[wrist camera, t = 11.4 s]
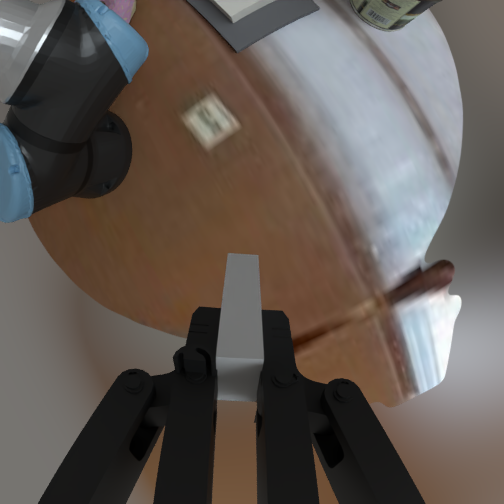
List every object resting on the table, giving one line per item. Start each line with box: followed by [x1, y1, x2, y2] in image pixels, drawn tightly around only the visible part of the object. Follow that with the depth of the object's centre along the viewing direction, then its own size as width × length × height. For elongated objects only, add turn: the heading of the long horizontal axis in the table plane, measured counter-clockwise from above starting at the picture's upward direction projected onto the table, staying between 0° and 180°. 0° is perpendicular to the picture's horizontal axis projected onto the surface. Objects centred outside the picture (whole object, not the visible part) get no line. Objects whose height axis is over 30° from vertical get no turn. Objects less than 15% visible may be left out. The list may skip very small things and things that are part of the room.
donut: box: [74, 0, 136, 24], centre depth 27 cm, size 16×15×5 cm
